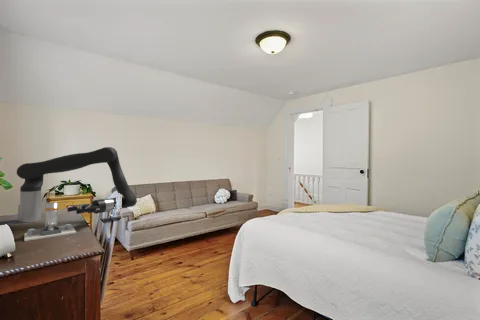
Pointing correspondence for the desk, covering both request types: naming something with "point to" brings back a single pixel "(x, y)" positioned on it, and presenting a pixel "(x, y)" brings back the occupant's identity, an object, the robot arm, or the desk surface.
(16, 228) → the desk surface
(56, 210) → the cylinder
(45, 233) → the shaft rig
